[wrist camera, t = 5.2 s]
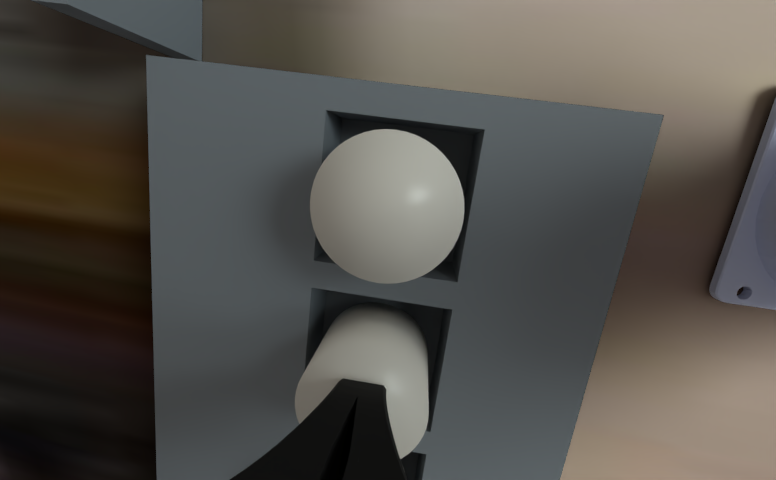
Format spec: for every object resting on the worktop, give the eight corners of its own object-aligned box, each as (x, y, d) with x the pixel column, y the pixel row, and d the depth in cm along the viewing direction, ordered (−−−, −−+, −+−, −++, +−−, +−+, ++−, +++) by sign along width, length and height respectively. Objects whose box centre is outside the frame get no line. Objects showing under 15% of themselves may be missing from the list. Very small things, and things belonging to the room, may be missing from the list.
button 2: (435, 311, 13) (438, 361, 10) (419, 404, 14) (418, 477, 11) (329, 294, 14) (299, 337, 10) (320, 387, 15) (290, 453, 11)
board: (612, 124, 13) (663, 115, 11) (486, 615, 19) (497, 697, 16) (201, 75, 15) (146, 54, 12) (198, 554, 20) (160, 620, 17)
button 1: (463, 145, 12) (477, 139, 9) (443, 259, 13) (450, 294, 10) (345, 130, 12) (316, 119, 9) (334, 243, 13) (304, 272, 10)
